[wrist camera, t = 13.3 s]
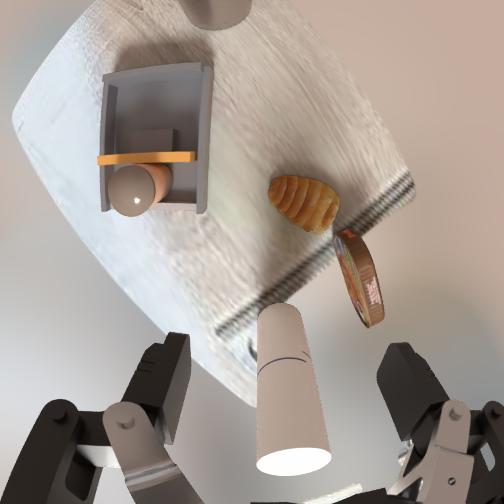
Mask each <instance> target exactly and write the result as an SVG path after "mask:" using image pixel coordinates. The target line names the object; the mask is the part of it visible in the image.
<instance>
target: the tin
mask: <svg viewBox="0 0 504 504" xmlns="http://www.w3.org/2000/svg"><path fill="white" fill-rule="evenodd" d="M333 244H334V248H335V251H336V255H337V258H338V261H339V263H340V267H341V270H342V273H343V276H344V279H345V283H346V286H347V289H348V292H349V295H350V298H351V300H352V303H353V305H354V308H355V310H356V312H357V314H358V315H359V317H360V319H361V321H362V322H363V323H364V325H365V326H366V327H367V328H370V327H371V326H373V325H375V324H377V323H379V322H381V321H382V320H383V319H384V306H383V301H382V296H381V291H380V287H379V282H378V279H377V274H376V270H375V266H374V263H373V260H372V257H371V255H370V252H369V250H368V248H367V246H366V244H365V243H364V241H363V240H362V238H361V237H360V236H359V235H358V234H357V233H355V232H354V231H353V230H351V229H347V230H344V231H342V232H340V233H338V234H334V235H333Z"/></svg>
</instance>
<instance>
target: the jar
mask: <svg viewBox="0 0 504 504" xmlns="http://www.w3.org/2000/svg"><path fill="white" fill-rule="evenodd" d="M172 186H173V175H172V172H171V170H170V169H169V168H168V166H167V165H165V164H164V163H162V162H151V163H140V164H136V165H128V166H124V167H121V168H119V169H118V170H117V171H116V172H115V173H114V174H113V175H112V177H111V179H110V181H109V185H108V196H109V200H110V202H111V204H112V206H113V207H114V209H115V210H116V211H117V212H119V213H120V214H122V215H124V216H128V217H134V216H138V215H141V214H142V213H144V212H145V211H147V210H148V209H149V208H150V207H151V206H153V205H154V204H156V203H157V202H159V201H160V200H162V199H163V198H165V197H166V196H167V195H168V194H169V193H170V191H171V189H172Z"/></svg>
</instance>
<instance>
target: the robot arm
mask: <svg viewBox="0 0 504 504" xmlns="http://www.w3.org/2000/svg"><path fill="white" fill-rule="evenodd" d="M178 2H179V4H180V5H181V7H182V9H183V11H184V12H185V14H186V16H187V18H188V19H189V21H190V22H191V23H192V24H194V25H195V26H197V27H199V28H201V29H206V30H222V29H226V28H230V27H232V26H234V25H236V24H238V23H240V22H241V21H242V20H243V19H244V18H246V16H247V15H248V13H249V11H250V9H251V0H178ZM430 369H431V368H430V367H429V365H428V364H427V362H426V360H425V359H423V358H422V357H421V356H420V355H419V354H417V353H415V352H414V350H413V349H412V347H411V345H410V344H409V343H407V342H402V343H391V344H390V345H389V346H388V348H387V351H386V353H385V355H384V358H383V360H382V362H381V364H380V367H379V369H378V371H377V383H378V386H379V388H380V390H381V393H382V395H383V398H384V400H385V402H386V405H387V407H388V409H389V412H390V414H391V417H392V419H393V422H394V424H395V427H396V429H397V432H398V434H399V437H400V439H401V442H402V441H407V440H410V439H412V441H413V443H412V444H411V446H410V448H409V450H408V453H407V456H406V458H405V461H404V464H403V466H402V469H401V471H400V473H399V476H398V478H397V480H396V482H395V484H394V485H393V487H392V488H391V489H390V490H389V491H388V493H386V489H385V488H381V489H377V490H373V491H369V492H365V493H359V494H355V495H353V496H350V497H348V498H346V499H343V500H341V501H338V502H335V503H333V504H465V502H466V504H504V406H503V405H501V404H500V403H499V402H496V401H490V402H488V403H486V405H485V406H484V408H483V409H482V410H476V411H475V410H469V409H468V407H467V406H466V405H465V404H464V403H463V402H460V401H458V400H450V399H449V397H448V395H447V394H446V392H445V390H444V389H443V387H442V385H441V384H440V382H439V381H438V379H437V378H436V377H435V374H434V373H433V372H432V370H430ZM190 375H191V351H190V337H189V334H183V333H175V332H169V333H168V335H167V337H166V339H165V342H164V344H159V343H154V344H153V345H151V346H150V347H149V348H148V349H146V350H145V352H144V354H143V356H142V358H141V362H139V364H138V366H137V370H136V371H135V373H134V375H133V377H132V379H131V381H130V383H129V385H128V387H127V389H126V392H125V394H124V396H123V398H122V400H121V401H120V402H118V403H115V404H113V405H111V406H110V407H108V408H107V409H106V411H102V412H92V411H78V410H77V408H76V406H75V405H74V404H73V403H72V402H70V401H68V400H65V399H56V400H53V401H50V402H49V403H47V404H46V405H45V406H44V408H43V409H42V411H41V413H40V415H39V417H38V418H37V420H36V422H35V424H34V426H33V428H32V430H31V432H30V434H29V436H28V438H27V440H26V442H25V444H24V446H23V448H22V450H21V452H20V454H19V456H18V459H17V461H16V463H15V465H14V468H13V470H12V472H11V475H10V477H9V480H8V482H7V485H6V487H5V490H4V492H3V495H2V498H1V501H0V504H93V501H94V497H95V493H96V490H97V486H98V482H99V479H100V476H101V472H102V469H103V467H121V470H122V472H123V474H124V477H125V483H126V485H127V488H128V490H129V492H130V494H131V496H132V498H133V499H134V501H135V503H136V504H204V502H203V501H202V500H201V498H200V497H199V496H198V494H197V493H196V492H195V490H194V489H193V487H192V486H191V485H190V483H189V482H188V481H187V479H186V477H185V476H184V475H183V473H182V472H181V470H180V469H179V467H178V466H177V465H176V464H174V463H173V461H172V459H171V458H170V456H169V455H168V453H167V451H166V450H165V448H164V444H169V445H173V442H174V438H175V434H176V430H177V426H178V422H179V418H180V414H181V410H182V406H183V402H184V399H185V395H186V391H187V387H188V383H189V380H190ZM487 442H488V444H489V446H490V449H491V451H492V453H493V455H494V457H495V466H494V468H493V469H492V470H491V471H490V472H489V470H488V468H487V466H486V463H485V460H484V458H483V456H482V453H481V451H480V449H481V448H482V447H483V446H484V445H485V444H486V443H487ZM250 504H296V503H289V502H275V503H274V502H269V503H266V502H261V503H258V502H251V503H250Z"/></svg>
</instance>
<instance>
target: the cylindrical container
mask: <svg viewBox="0 0 504 504" xmlns="http://www.w3.org/2000/svg"><path fill="white" fill-rule="evenodd" d="M330 460H331V452H330V448H329V441H328V436H327V431H326V426H325V421H324V416H323V411H322V406H321V401H320V397H319V392H318V387H317V383H316V378H315V374H314V369H313V364H312V360H311V356H310V351H309V347H308V343H307V338H306V334H305V331H304V326H303V322H302V318H301V314H300V312H299V311H298V310H297V308H295V307H294V306H292V305H290V304H287V303H275V304H272V305H269V306H267V307H266V308H264V309H263V310H262V311H261V313H260V314H259V316H258V321H257V467H258V468H259V469H260V470H261V471H263V472H265V473H268V474H272V475H281V476H290V475H299V474H304V473H308V472H312V471H315V470H317V469H319V468H321V467H323V466H325V465H326V464H327V463H328V462H329V461H330Z"/></svg>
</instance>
